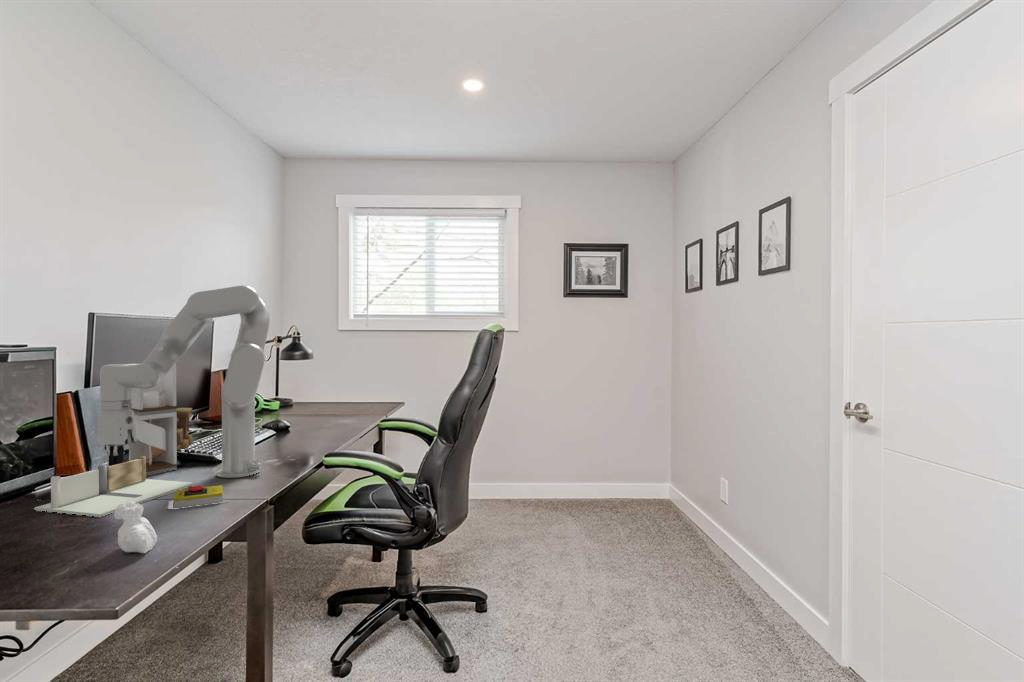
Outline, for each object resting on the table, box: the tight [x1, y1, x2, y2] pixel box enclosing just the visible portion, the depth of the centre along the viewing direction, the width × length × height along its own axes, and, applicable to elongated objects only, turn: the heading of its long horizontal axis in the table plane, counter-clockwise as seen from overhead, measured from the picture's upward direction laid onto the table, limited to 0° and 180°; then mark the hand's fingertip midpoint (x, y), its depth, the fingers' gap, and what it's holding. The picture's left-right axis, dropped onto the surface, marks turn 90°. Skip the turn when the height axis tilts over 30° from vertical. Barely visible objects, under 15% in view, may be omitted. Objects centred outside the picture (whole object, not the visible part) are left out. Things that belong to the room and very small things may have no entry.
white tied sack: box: [113, 501, 158, 554], centre depth 115 cm, size 12×8×11 cm
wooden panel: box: [107, 456, 147, 491], centre depth 159 cm, size 12×2×7 cm, turn 167°
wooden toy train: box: [176, 407, 194, 450], centre depth 201 cm, size 20×11×17 cm, turn 24°
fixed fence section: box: [50, 464, 108, 508], centre depth 146 cm, size 14×2×8 cm, turn 167°
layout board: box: [33, 478, 195, 518], centre depth 151 cm, size 21×29×1 cm
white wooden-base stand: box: [126, 363, 178, 476], centre depth 180 cm, size 11×11×35 cm
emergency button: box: [172, 484, 224, 509], centre depth 148 cm, size 9×4×15 cm
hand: (115, 468), depth 162 cm, fingers closed
